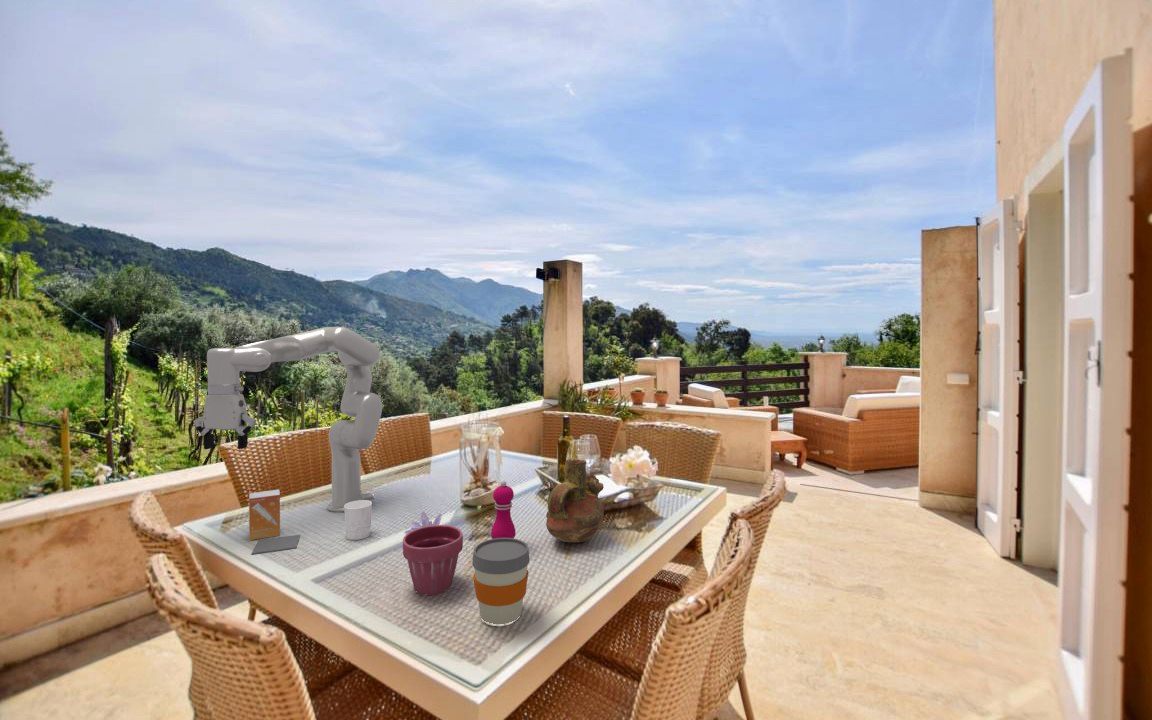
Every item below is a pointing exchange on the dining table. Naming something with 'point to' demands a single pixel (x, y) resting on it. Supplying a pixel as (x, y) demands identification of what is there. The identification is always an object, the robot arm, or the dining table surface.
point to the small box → (264, 514)
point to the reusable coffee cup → (500, 578)
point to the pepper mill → (503, 512)
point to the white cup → (358, 519)
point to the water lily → (424, 522)
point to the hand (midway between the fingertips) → (225, 448)
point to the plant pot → (432, 557)
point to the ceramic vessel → (575, 505)
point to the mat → (276, 544)
